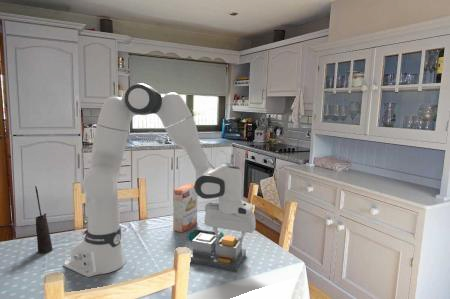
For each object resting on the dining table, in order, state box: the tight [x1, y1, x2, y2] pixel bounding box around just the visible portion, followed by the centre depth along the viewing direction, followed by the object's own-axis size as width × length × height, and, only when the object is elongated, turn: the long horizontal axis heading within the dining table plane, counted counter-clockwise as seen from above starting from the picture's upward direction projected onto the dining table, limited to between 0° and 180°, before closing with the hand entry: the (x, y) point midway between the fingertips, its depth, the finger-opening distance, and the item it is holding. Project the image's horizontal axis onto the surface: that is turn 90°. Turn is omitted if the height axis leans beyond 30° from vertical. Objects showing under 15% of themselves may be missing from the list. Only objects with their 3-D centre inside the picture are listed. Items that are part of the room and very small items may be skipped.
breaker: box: [198, 234, 214, 243], centre depth 126 cm, size 5×5×3 cm
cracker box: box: [172, 183, 199, 233], centre depth 154 cm, size 14×6×21 cm, turn 155°
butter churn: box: [34, 185, 54, 254], centre depth 128 cm, size 9×10×28 cm
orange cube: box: [222, 234, 237, 247], centre depth 122 cm, size 4×4×4 cm
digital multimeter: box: [188, 228, 225, 241], centre depth 143 cm, size 8×15×3 cm, turn 75°
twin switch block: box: [190, 233, 247, 273], centre depth 124 cm, size 20×14×8 cm
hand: (229, 239), depth 122 cm, fingers open, 8 cm apart
